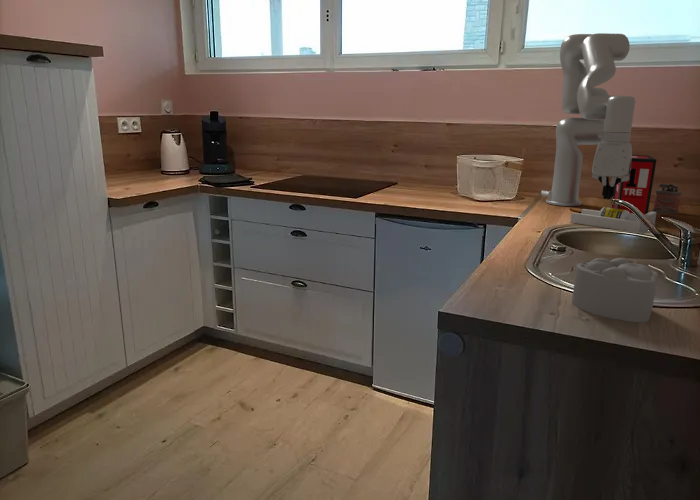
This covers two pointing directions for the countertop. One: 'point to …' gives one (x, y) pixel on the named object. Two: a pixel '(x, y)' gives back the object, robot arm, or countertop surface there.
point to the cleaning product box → (637, 184)
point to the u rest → (611, 221)
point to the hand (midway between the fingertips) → (607, 198)
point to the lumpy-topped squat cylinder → (615, 289)
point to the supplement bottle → (617, 214)
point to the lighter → (667, 199)
